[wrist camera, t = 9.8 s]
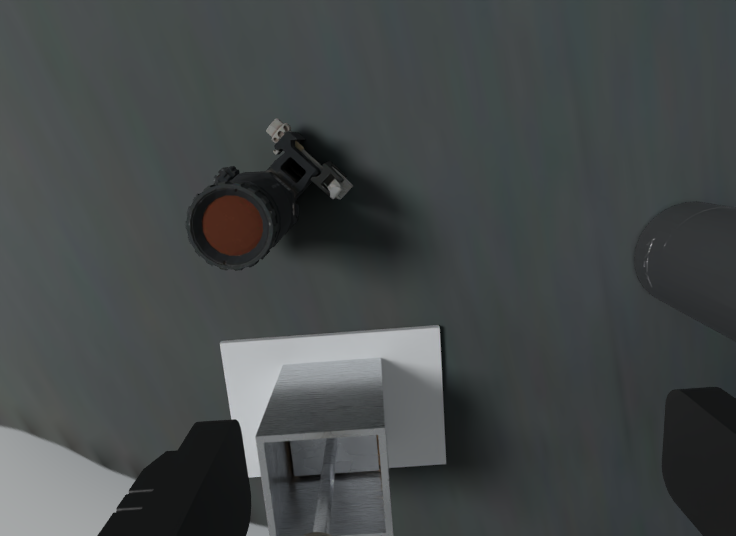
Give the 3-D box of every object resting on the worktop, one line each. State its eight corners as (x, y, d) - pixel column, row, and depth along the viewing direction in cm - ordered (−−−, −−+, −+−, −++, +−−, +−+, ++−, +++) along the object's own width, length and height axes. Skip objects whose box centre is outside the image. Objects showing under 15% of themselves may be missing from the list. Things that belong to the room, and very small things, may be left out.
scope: (348, 200, 31) (242, 317, 33) (355, 182, 44) (279, 266, 46) (242, 103, 30) (137, 230, 31) (282, 115, 43) (207, 204, 45)
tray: (438, 325, 47) (439, 327, 47) (445, 460, 51) (446, 464, 50) (221, 340, 48) (219, 343, 47) (242, 474, 51) (240, 477, 50)
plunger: (372, 389, 43) (374, 538, 27) (378, 466, 45) (384, 650, 29) (285, 395, 43) (235, 547, 27) (295, 471, 45) (253, 658, 29)
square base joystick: (380, 357, 47) (384, 427, 36) (387, 444, 50) (393, 538, 38) (283, 364, 48) (255, 436, 36) (293, 451, 50) (271, 546, 38)
